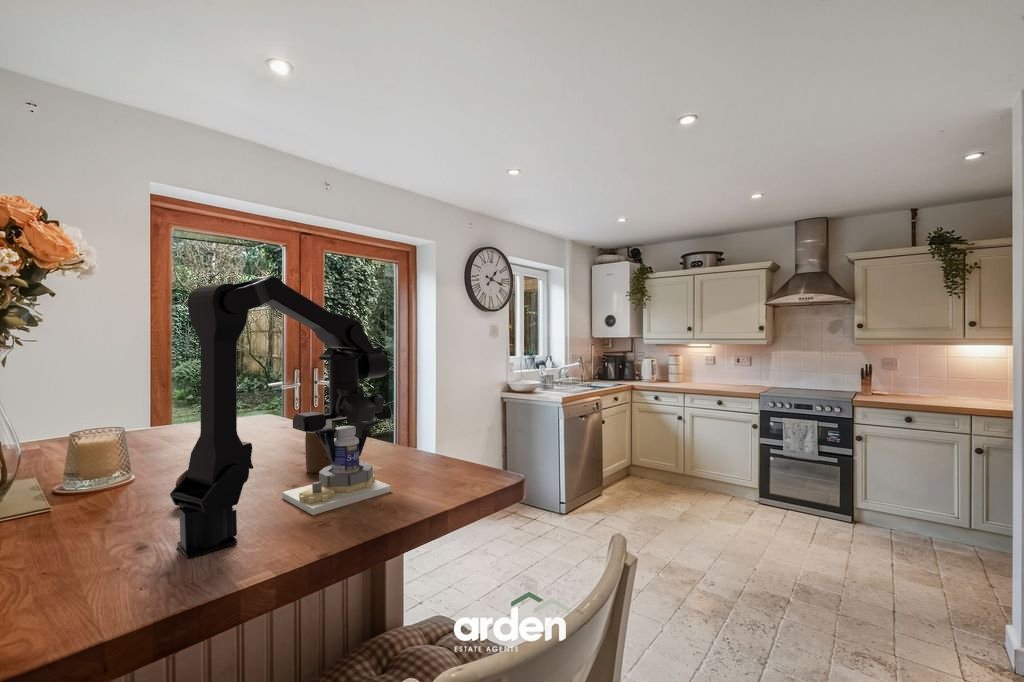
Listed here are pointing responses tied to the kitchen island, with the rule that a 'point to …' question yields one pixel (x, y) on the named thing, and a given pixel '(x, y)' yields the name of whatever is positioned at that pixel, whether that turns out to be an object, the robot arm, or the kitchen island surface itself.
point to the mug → (315, 453)
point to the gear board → (336, 490)
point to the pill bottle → (346, 451)
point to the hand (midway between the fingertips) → (345, 458)
